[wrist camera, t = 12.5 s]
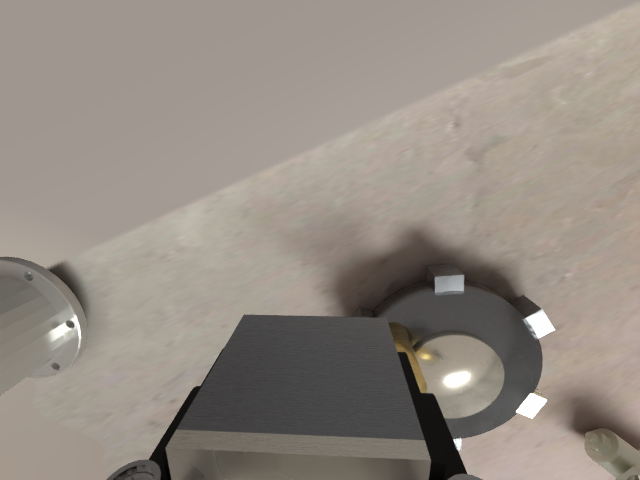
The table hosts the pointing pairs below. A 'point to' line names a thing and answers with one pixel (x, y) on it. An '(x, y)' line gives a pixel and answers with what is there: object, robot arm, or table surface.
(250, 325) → the link block
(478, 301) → the sprocket
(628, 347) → the table surface
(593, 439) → the pipe fitting
